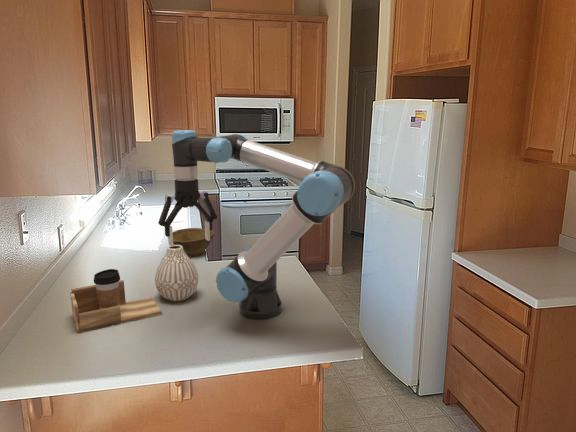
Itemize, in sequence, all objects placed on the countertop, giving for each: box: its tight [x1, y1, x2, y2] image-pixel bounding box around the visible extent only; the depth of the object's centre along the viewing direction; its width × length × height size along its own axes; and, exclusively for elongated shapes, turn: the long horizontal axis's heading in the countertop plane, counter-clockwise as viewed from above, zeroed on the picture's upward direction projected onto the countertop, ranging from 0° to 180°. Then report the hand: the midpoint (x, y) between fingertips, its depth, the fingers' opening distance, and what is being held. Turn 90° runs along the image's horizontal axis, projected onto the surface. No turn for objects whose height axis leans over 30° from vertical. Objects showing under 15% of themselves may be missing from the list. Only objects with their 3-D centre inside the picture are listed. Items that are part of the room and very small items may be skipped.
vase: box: [154, 245, 199, 302], centre depth 174 cm, size 16×16×20 cm
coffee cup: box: [93, 268, 121, 309], centre depth 158 cm, size 8×8×15 cm
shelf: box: [69, 279, 163, 334], centre depth 160 cm, size 14×27×10 cm, turn 120°
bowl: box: [172, 227, 215, 257], centre depth 227 cm, size 22×23×10 cm
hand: (189, 242), depth 155 cm, fingers open, 12 cm apart
